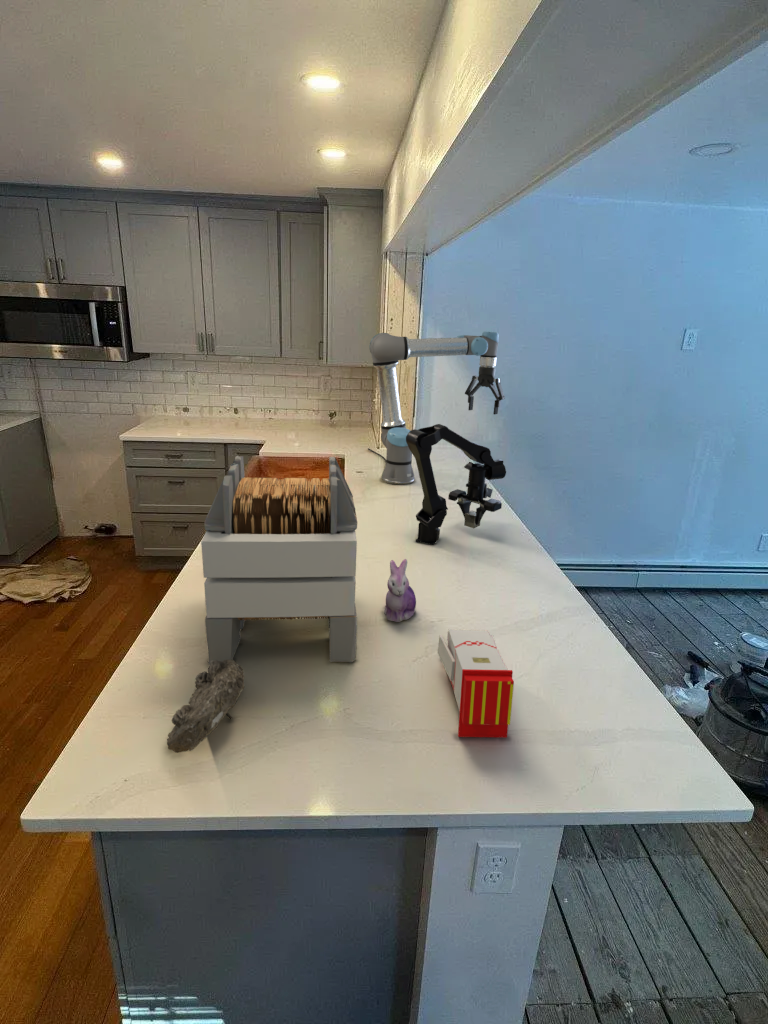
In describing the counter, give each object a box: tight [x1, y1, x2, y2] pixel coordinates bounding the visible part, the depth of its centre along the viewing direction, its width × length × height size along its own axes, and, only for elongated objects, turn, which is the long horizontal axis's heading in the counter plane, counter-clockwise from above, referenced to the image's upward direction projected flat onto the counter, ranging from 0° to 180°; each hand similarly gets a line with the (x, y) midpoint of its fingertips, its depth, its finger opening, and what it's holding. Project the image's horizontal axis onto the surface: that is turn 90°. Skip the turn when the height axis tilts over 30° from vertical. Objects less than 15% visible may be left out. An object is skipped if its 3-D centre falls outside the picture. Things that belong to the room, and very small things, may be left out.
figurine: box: [384, 558, 417, 623], centre depth 145 cm, size 9×10×15 cm
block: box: [464, 510, 481, 529], centre depth 201 cm, size 4×4×5 cm
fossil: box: [166, 659, 245, 754], centre depth 106 cm, size 22×10×15 cm
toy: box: [437, 628, 515, 738], centre depth 117 cm, size 12×13×30 cm
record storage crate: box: [200, 455, 358, 666], centre depth 133 cm, size 34×33×41 cm
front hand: (472, 522), depth 202 cm, fingers closed on block, 4 cm apart
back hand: (482, 412), depth 271 cm, fingers open, 13 cm apart
